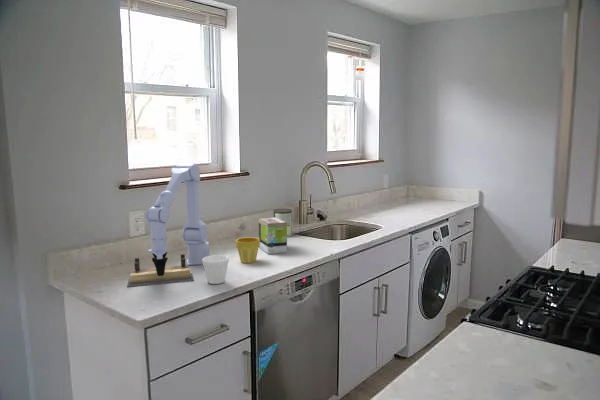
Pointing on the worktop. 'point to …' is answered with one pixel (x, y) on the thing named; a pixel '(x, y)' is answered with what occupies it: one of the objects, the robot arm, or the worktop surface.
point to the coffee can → (285, 218)
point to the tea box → (273, 235)
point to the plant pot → (248, 249)
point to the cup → (215, 268)
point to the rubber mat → (159, 282)
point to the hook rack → (138, 270)
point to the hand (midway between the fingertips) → (160, 272)
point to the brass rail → (154, 277)
